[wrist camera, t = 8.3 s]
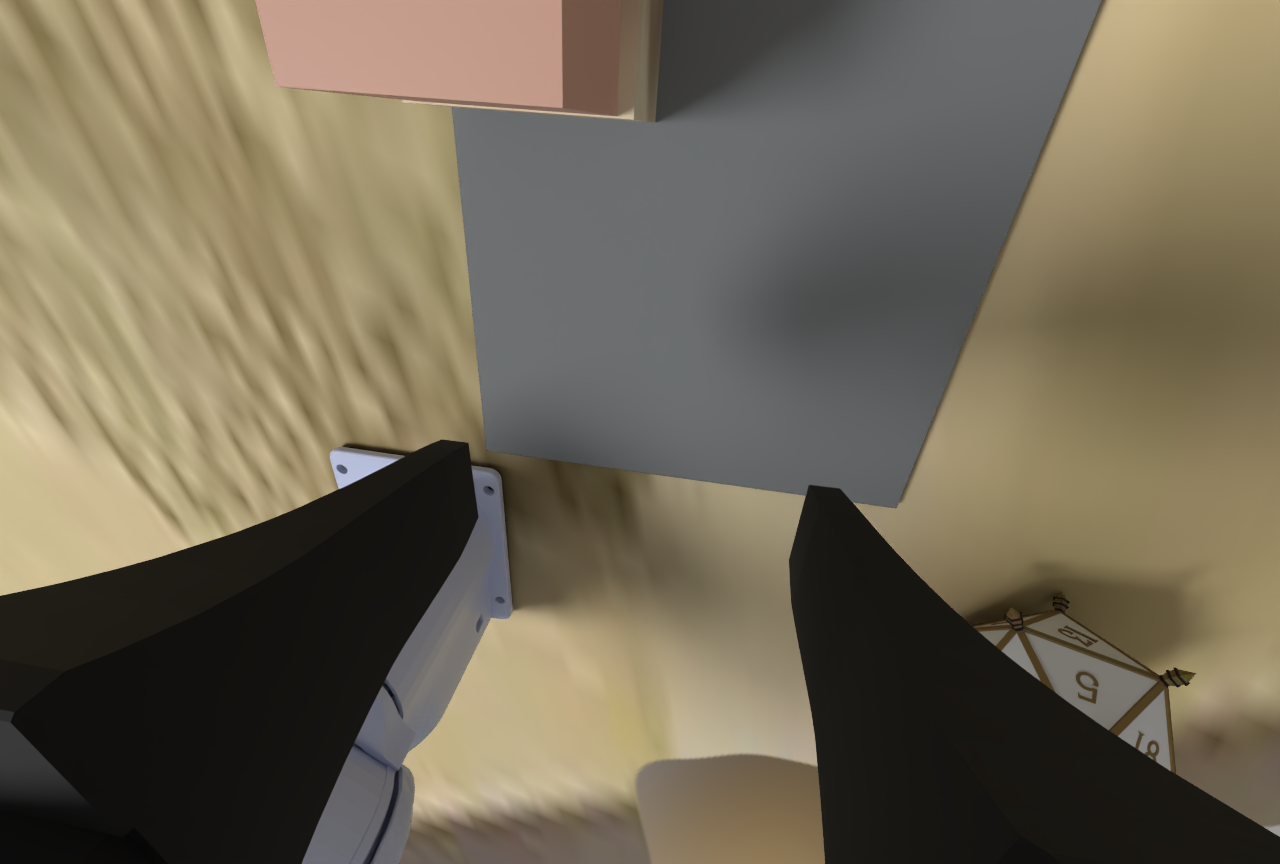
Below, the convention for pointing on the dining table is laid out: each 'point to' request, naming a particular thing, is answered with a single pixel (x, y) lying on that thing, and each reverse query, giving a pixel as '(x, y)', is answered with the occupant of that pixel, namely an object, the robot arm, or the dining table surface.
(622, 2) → the maple block
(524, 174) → the mat
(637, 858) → the dining table surface
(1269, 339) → the dining table surface
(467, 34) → the terracotta block
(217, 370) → the dining table surface
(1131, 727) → the game die
